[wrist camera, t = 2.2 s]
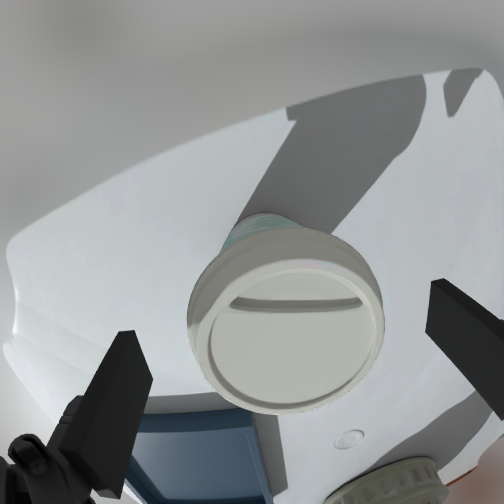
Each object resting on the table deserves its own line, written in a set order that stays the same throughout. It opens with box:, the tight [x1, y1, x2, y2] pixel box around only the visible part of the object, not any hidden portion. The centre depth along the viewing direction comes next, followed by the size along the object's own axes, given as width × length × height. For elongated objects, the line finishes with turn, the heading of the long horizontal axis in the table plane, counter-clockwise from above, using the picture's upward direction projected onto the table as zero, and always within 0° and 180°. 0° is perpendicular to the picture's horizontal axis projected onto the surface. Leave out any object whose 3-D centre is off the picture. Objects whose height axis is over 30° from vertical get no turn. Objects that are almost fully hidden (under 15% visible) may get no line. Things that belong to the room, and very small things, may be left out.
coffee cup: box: [187, 213, 385, 415], centre depth 17 cm, size 8×8×12 cm
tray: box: [124, 408, 274, 504], centre depth 30 cm, size 22×18×3 cm
